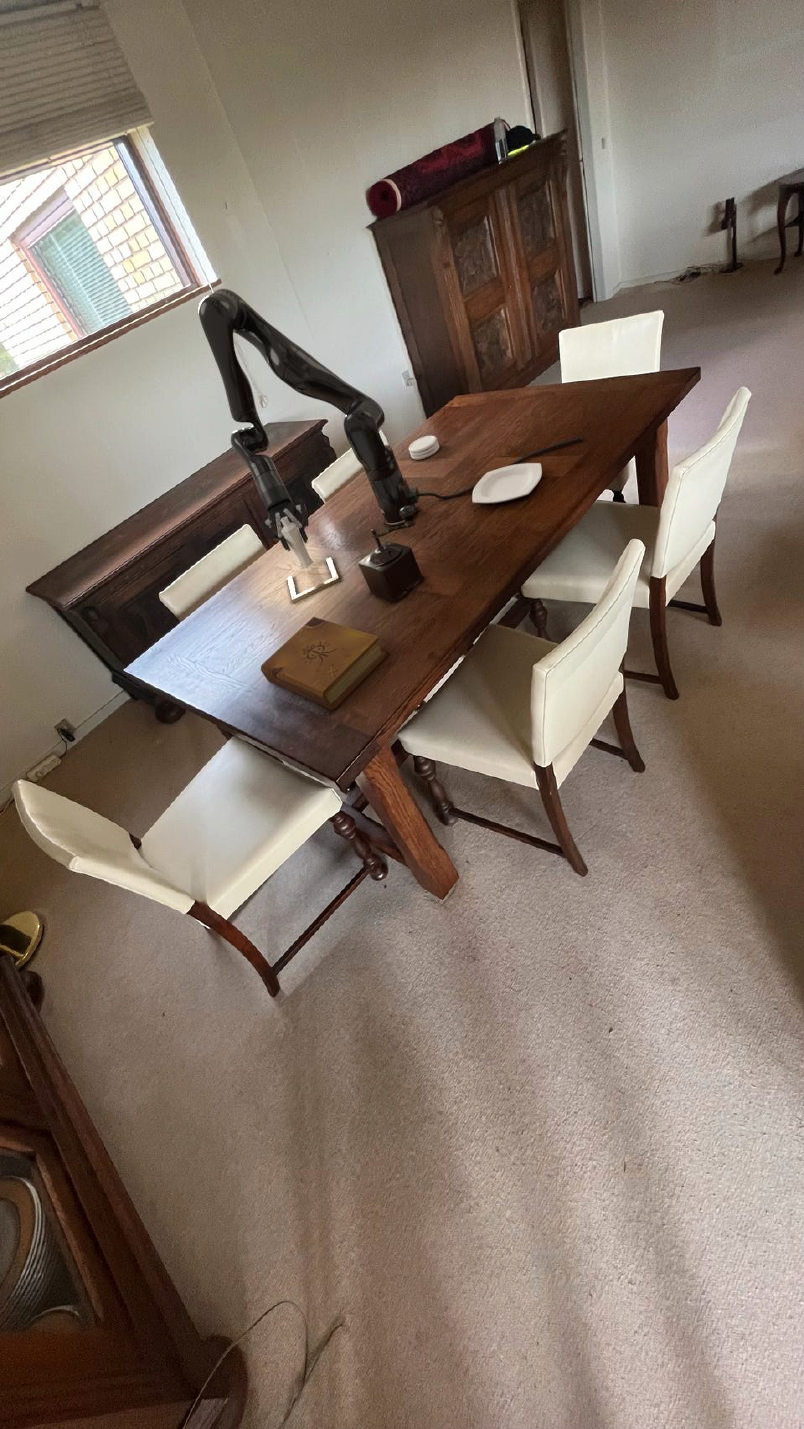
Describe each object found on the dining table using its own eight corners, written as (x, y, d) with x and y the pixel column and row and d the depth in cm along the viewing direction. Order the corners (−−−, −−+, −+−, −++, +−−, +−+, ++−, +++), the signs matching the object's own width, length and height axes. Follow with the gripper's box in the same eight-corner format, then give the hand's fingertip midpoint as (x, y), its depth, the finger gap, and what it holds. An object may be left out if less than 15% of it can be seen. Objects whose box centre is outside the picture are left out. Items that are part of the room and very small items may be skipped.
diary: (270, 685, 148) (258, 667, 144) (323, 634, 155) (313, 616, 151) (331, 712, 133) (320, 693, 129) (387, 655, 140) (377, 635, 136)
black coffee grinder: (396, 603, 153) (369, 541, 141) (370, 593, 160) (341, 533, 149) (440, 567, 157) (417, 503, 146) (412, 559, 165) (388, 497, 153)
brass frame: (288, 580, 181) (286, 578, 181) (332, 560, 181) (330, 557, 180) (293, 602, 171) (291, 600, 171) (340, 581, 171) (338, 578, 170)
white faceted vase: (312, 566, 179) (289, 521, 169) (299, 569, 181) (275, 524, 171) (316, 557, 182) (293, 512, 172) (303, 560, 184) (280, 515, 174)
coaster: (444, 443, 210) (441, 433, 208) (431, 459, 205) (427, 449, 203) (420, 446, 216) (417, 436, 213) (406, 461, 211) (402, 451, 209)
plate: (466, 512, 172) (464, 506, 171) (484, 476, 183) (482, 470, 182) (534, 502, 163) (533, 496, 161) (549, 465, 174) (548, 458, 173)
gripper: (246, 498, 173) (270, 553, 172) (292, 475, 172) (317, 531, 171) (254, 508, 181) (278, 560, 179) (299, 486, 180) (323, 539, 179)
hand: (297, 545), depth 175 cm, fingers closed on white faceted vase, 4 cm apart
